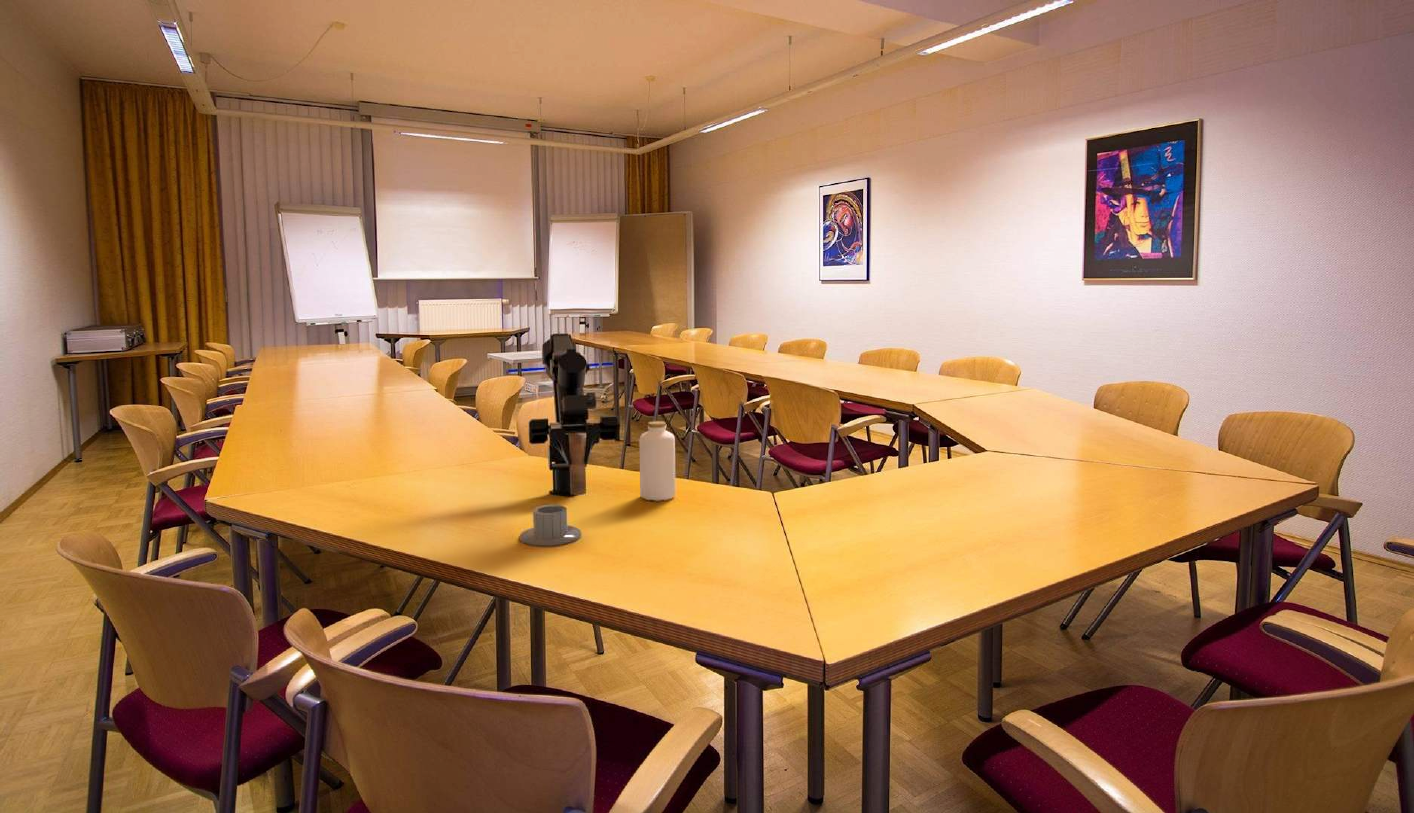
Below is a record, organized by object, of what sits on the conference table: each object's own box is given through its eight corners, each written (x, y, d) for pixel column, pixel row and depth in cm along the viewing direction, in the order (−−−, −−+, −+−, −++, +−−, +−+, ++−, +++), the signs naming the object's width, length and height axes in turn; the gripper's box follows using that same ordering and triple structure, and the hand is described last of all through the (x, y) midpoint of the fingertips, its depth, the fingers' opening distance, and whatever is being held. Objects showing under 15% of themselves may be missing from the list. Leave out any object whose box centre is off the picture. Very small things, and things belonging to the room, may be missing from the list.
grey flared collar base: (507, 540, 152) (505, 513, 151) (546, 524, 163) (545, 498, 162) (556, 550, 147) (555, 521, 146) (593, 532, 157) (592, 505, 156)
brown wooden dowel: (567, 492, 161) (565, 434, 159) (580, 490, 163) (578, 431, 161) (576, 496, 158) (574, 436, 156) (589, 493, 161) (587, 434, 159)
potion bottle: (633, 499, 182) (632, 423, 179) (652, 491, 189) (651, 418, 186) (663, 503, 178) (663, 426, 175) (681, 495, 185) (681, 421, 183)
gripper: (527, 380, 158) (531, 444, 150) (618, 377, 163) (627, 439, 154) (527, 412, 167) (531, 474, 158) (613, 408, 172) (621, 468, 163)
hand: (577, 463), depth 158 cm, fingers closed on brown wooden dowel, 3 cm apart
